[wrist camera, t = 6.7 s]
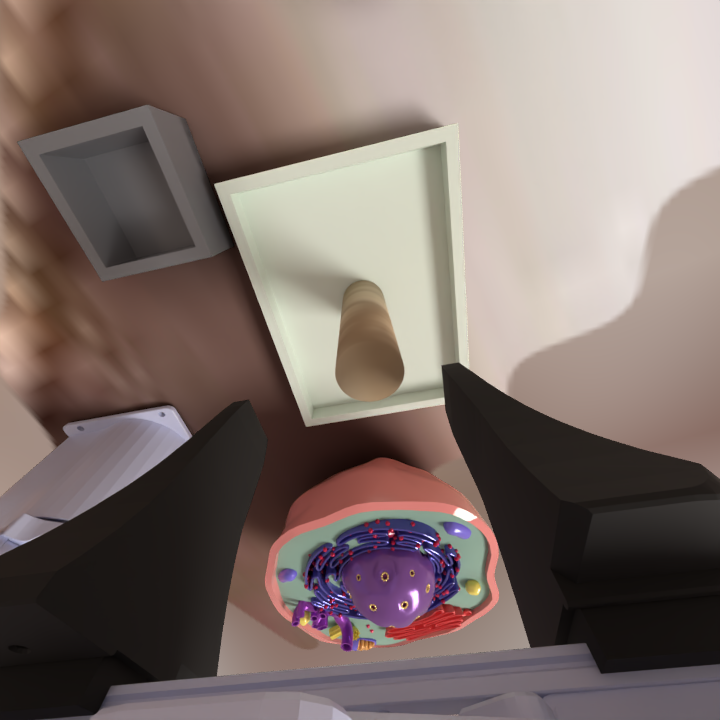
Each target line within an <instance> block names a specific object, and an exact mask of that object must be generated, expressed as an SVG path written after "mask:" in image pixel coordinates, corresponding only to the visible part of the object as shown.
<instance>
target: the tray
mask: <svg viewBox="0 0 720 720" xmlns="http://www.w3.org/2000/svg"><path fill="white" fill-rule="evenodd" d="M214 186H215V188H216V191H217V193H218V196H219V199H220V201H221V204H222V207H223V209H224V212H225V215H226V217H227V220H228V222H229V225H230V228H231V230H232V233H233V236H234V238H235V241H236V244H237V246H238V249H239V251H240V254H241V257H242V259H243V262H244V265H245V267H246V270H247V272H248V275H249V278H250V280H251V283H252V286H253V288H254V291H255V294H256V296H257V299H258V301H259V304H260V307H261V309H262V312H263V315H264V317H265V320H266V323H267V325H268V328H269V330H270V333H271V336H272V338H273V341H274V344H275V346H276V349H277V352H278V354H279V357H280V359H281V362H282V365H283V367H284V370H285V373H286V375H287V378H288V380H289V383H290V386H291V388H292V391H293V394H294V396H295V399H296V402H297V404H298V407H299V409H300V412H301V415H302V417H303V420H304V423H305V425H306V427H309V426H315V425H321V424H327V423H333V422H339V421H346V420H352V419H358V418H364V417H370V416H376V415H382V414H388V413H394V412H401V411H407V410H413V409H419V408H425V407H431V406H437V405H443V404H445V399H444V388H443V378H442V367H441V365H446V364H452V363H457V362H459V363H461V364H462V365H463V366H465V367H466V368H468V369H469V351H468V329H467V307H466V284H465V262H464V239H463V217H462V194H461V172H460V149H459V127H458V123H456V124H452V125H448V126H444V127H440V128H436V129H432V130H428V131H424V132H420V133H416V134H412V135H408V136H404V137H400V138H396V139H392V140H388V141H384V142H380V143H376V144H372V145H368V146H364V147H360V148H356V149H352V150H348V151H344V152H340V153H336V154H332V155H328V156H324V157H320V158H316V159H312V160H308V161H304V162H300V163H296V164H292V165H288V166H284V167H280V168H276V169H272V170H268V171H264V172H260V173H256V174H252V175H248V176H244V177H240V178H236V179H232V180H228V181H224V182H220V183H216V184H214ZM361 280H366V281H371V282H373V283H375V284H376V285H377V286H378V287H379V288H380V289H381V291H382V293H383V295H384V299H385V302H386V306H387V309H388V312H389V316H390V319H391V323H392V326H393V329H394V333H395V336H396V340H397V343H398V347H399V350H400V353H401V357H402V360H403V364H404V370H405V372H404V378H403V381H402V383H401V385H400V387H399V388H398V389H397V390H396V391H395V392H394V393H393V394H392V395H390V396H389V397H387V398H385V399H382V400H379V401H373V402H365V401H359V400H356V399H353V398H351V397H350V396H348V395H347V394H345V393H344V392H343V391H342V390H341V388H340V387H339V385H338V383H337V381H336V377H335V367H336V358H337V348H338V339H339V330H340V320H341V311H342V302H343V295H344V292H345V291H346V289H347V288H348V287H349V286H350V285H351V284H352V283H354V282H357V281H361Z"/></svg>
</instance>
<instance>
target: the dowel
mask: <svg viewBox="0 0 720 720" xmlns="http://www.w3.org/2000/svg"><path fill="white" fill-rule="evenodd" d="M404 372H405V370H404V364H403V360H402V357H401V353H400V350H399V347H398V343H397V340H396V336H395V333H394V329H393V326H392V323H391V319H390V316H389V312H388V309H387V306H386V302H385V299H384V295H383V293H382V291H381V289H380V288H379V287H378V286H377V285H376V284H375V283H373V282H371V281H366V280H361V281H357V282H354V283H352V284H351V285H350V286H349V287H348V288H347V289H346V291H345V292H344V295H343V302H342V311H341V320H340V330H339V339H338V348H337V358H336V367H335V377H336V381H337V383H338V385H339V387H340V388H341V390H342V391H343V392H344V393H345V394H347V395H348V396H350V397H351V398H353V399H356V400H359V401H365V402H373V401H379V400H382V399H385V398H387V397H389V396H390V395H392V394H393V393H394V392H395V391H396V390H397V389H398V388H399V387H400V385H401V383H402V381H403V378H404Z"/></svg>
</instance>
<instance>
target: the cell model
mask: <svg viewBox="0 0 720 720" xmlns="http://www.w3.org/2000/svg"><path fill="white" fill-rule="evenodd" d="M498 556H499V552H498V544H497V541H496V538H495V536H494V534H493V532H492V530H491V529H490V528H489V526H488V525H487V524H486V522H485V521H484V520H483V518H482V517H481V516H480V514H479V513H478V512H477V510H476V509H475V508H474V507H473V505H472V504H471V503H470V501H469V500H468V499H467V498H466V497H465V496H464V495H463V494H462V493H461V492H459V491H458V490H456V489H455V488H453V487H452V486H450V485H449V484H447V483H445V482H444V481H442V480H440V479H439V478H437V477H436V476H434V475H432V474H430V473H429V472H427V471H424V470H422V469H420V468H416V467H413V466H410V465H407V464H404V463H401V462H399V461H396V460H393V459H390V458H386V457H379V458H375V459H373V460H370V461H368V462H366V463H364V464H361V465H358V466H355V467H352V468H350V469H347V470H344V471H341V472H339V473H336V474H334V475H332V476H331V477H329V478H327V479H325V480H324V481H322V482H320V483H318V484H317V485H315V486H313V487H312V488H310V489H309V490H307V491H306V492H304V493H303V494H302V495H301V496H299V497H298V498H297V499H296V500H295V501H294V503H293V504H292V505H291V507H290V509H289V511H288V514H287V517H286V522H285V526H284V529H283V530H282V532H281V534H280V536H279V537H278V538H277V540H276V541H275V542H274V544H273V546H272V547H271V549H270V553H269V559H268V565H267V571H266V576H265V585H266V589H267V591H268V594H269V596H270V598H271V600H272V602H273V604H274V606H275V607H276V609H277V610H278V611H279V613H280V614H281V615H282V616H283V617H285V618H286V619H287V620H289V621H290V622H292V626H298V627H299V628H301V629H302V630H304V631H305V632H306V633H308V634H309V635H311V636H313V637H314V638H316V639H318V640H320V641H324V642H328V643H334V644H340V645H341V648H342V649H343V650H344V651H351V650H354V651H356V650H357V649H358V650H360V651H362V650H363V649H364V650H369V649H371V647H394V646H401V645H405V644H408V643H411V642H414V641H417V640H422V639H426V638H431V637H436V636H440V635H445V634H449V633H451V632H455V631H457V630H459V629H462V628H463V627H465V626H466V625H468V624H469V623H471V622H473V621H474V620H476V619H478V618H479V617H481V616H483V615H484V614H486V613H487V612H488V611H490V610H491V609H492V608H493V606H494V605H495V604H496V603H497V602H498V599H499V592H498V588H497V585H496V582H495V579H494V572H495V568H496V564H497V560H498Z"/></svg>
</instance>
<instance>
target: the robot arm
mask: <svg viewBox="0 0 720 720" xmlns="http://www.w3.org/2000/svg"><path fill="white" fill-rule="evenodd" d="M441 367H442V378H443V388H444V399H445V409H446V413H447V417H448V420H449V423H450V426H451V429H452V433H453V435H454V438H455V440H456V442H457V444H458V446H459V449H460V451H461V453H462V455H463V457H464V459H465V462H466V464H467V466H468V468H469V470H470V472H471V475H472V477H473V479H474V481H475V483H476V485H477V488H478V490H479V492H480V495H481V497H482V500H483V502H484V505H485V508H486V511H487V514H488V517H489V520H490V522H491V525H492V528H493V531H494V534H495V537H496V540H497V543H498V546H499V549H500V552H501V555H502V558H503V561H504V564H505V567H506V570H507V573H508V577H509V580H510V583H511V586H512V589H513V592H514V595H515V598H516V601H517V605H518V608H519V611H520V615H521V618H522V621H523V624H524V628H525V631H526V634H527V637H528V641H529V644H530V647H531V648H524V649H513V650H502V651H491V652H480V653H469V654H458V655H447V656H436V657H425V658H414V659H403V660H393V661H382V662H371V663H360V664H348V665H337V666H326V667H315V668H304V669H293V670H283V671H271V672H259V673H249V674H238V675H227V676H217V669H218V661H219V653H220V646H221V637H222V631H223V625H224V618H225V612H226V606H227V600H228V594H229V589H230V584H231V578H232V573H233V568H234V563H235V559H236V554H237V550H238V545H239V541H240V536H241V532H242V529H243V526H244V522H245V519H246V516H247V513H248V510H249V507H250V504H251V501H252V498H253V495H254V492H255V489H256V486H257V483H258V480H259V477H260V474H261V471H262V468H263V464H264V459H265V454H266V448H267V442H268V439H267V437H266V435H265V433H264V431H263V429H262V427H261V424H260V422H259V420H258V418H257V416H256V414H255V412H254V409H253V407H252V405H251V403H250V401H249V400H244V401H239V402H234V403H232V404H231V405H229V406H228V407H227V408H225V409H224V410H223V411H222V412H220V413H219V414H218V415H217V416H216V417H214V418H213V419H212V420H211V421H210V422H209V423H207V424H206V425H205V426H204V427H203V428H202V429H200V430H199V431H198V432H197V433H196V434H195V435H193V436H192V435H191V433H190V431H189V430H188V428H187V427H186V425H185V423H184V422H183V420H182V418H181V417H180V415H179V414H178V412H177V410H176V409H175V408H174V407H172V406H169V405H167V406H161V407H156V408H150V409H144V410H139V411H133V412H128V413H122V414H116V415H111V416H105V417H100V418H94V419H88V420H83V421H77V422H72V423H68V424H66V425H65V426H64V427H63V430H64V432H65V433H66V434H67V435H68V436H69V437H68V438H67V439H66V440H65V441H64V442H63V443H62V444H60V445H59V446H58V447H57V448H56V449H55V450H53V451H52V452H51V453H50V454H49V455H48V456H47V457H45V458H44V459H43V460H42V461H41V462H40V463H39V464H37V465H36V466H35V467H34V468H33V469H32V470H30V471H29V472H28V473H27V474H26V475H25V476H24V477H22V479H20V480H19V481H18V482H17V483H15V484H14V485H13V486H12V487H11V488H10V489H8V490H7V491H6V492H5V493H4V494H3V495H2V496H1V497H0V720H720V479H719V478H718V477H717V476H715V475H714V474H713V473H712V472H710V471H709V470H708V469H706V468H705V467H704V466H702V465H701V464H699V463H695V462H691V461H687V460H682V459H678V458H674V457H671V456H666V455H662V454H658V453H654V452H650V451H646V450H642V449H639V448H636V447H632V446H629V445H626V444H622V443H619V442H616V441H612V440H609V439H606V438H603V437H600V436H597V435H594V434H591V433H589V432H586V431H583V430H581V429H578V428H575V427H573V426H570V425H568V424H565V423H562V422H560V421H558V420H555V419H553V418H551V417H549V416H547V415H544V414H542V413H540V412H538V411H536V410H534V409H532V408H530V407H528V406H526V405H524V404H522V403H520V402H519V401H517V400H515V399H513V398H511V397H510V396H508V395H506V394H505V393H503V392H501V391H500V390H498V389H496V388H495V387H493V386H492V385H490V384H489V383H487V382H486V381H484V380H483V379H482V378H480V377H479V376H477V375H476V374H475V373H473V372H472V371H470V370H469V369H468V368H466V367H465V366H463V365H462V364H461V363H459V362H457V363H452V364H446V365H441ZM162 412H163V413H162ZM455 714H456V715H457V714H459V715H458V716H456V715H455Z"/></svg>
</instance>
